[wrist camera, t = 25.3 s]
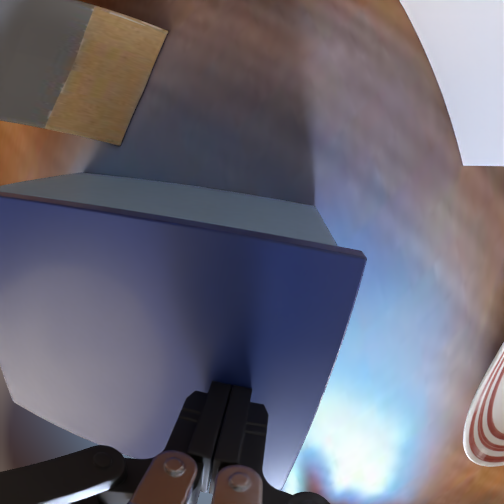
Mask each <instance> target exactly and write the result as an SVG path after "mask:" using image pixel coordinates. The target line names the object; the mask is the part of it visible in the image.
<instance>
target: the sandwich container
mask: <svg viewBox="0 0 504 504" xmlns="http://www.w3.org/2000/svg"><path fill="white" fill-rule="evenodd" d="M167 33H168V31H167V30H164V29H162V28H159V27H157V26H154V25H152V24H149V23H146V22H144V21H141V20H138V19H135V18H133V17H130V16H127V15H124V14H121V13H118V12H115V11H112V10H109V9H106V8H102V7H99V6H96V5H92V4H89V3H85V2H82V1H78V0H0V120H1V121H7V122H13V123H18V124H24V125H29V126H35V127H40V128H45V129H49V130H54V131H59V132H63V133H68V134H72V135H77V136H81V137H85V138H90V139H94V140H98V141H102V142H106V143H110V144H114V145H118V146H121V142H122V139H123V137H124V134H125V132H126V129H127V127H128V125H129V122H130V120H131V117H132V115H133V113H134V110H135V108H136V106H137V104H138V101H139V99H140V97H141V95H142V93H143V91H144V88H145V86H146V83H147V81H148V78H149V76H150V73H151V70H152V68H153V65H154V63H155V61H156V58H157V56H158V53H159V51H160V49H161V46H162V44H163V42H164V39H165V37H166V35H167Z"/></svg>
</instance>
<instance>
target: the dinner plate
mask: <svg viewBox="0 0 504 504" xmlns="http://www.w3.org/2000/svg"><path fill="white" fill-rule="evenodd" d="M463 446H464V450H465V452H466V454H467V456H468V458H469V459H470V460H471V461H473V462H474V463H476V464H478V465H482V466H489V467H490V466H502V465H504V342H503V344H502V346H501V347H500V349H499V351H498V352H497V354H496V356H495V358H494V360H493V361H492V363H491V365H490V366H489V368H488V370H487V372H486V374H485V376H484V378H483V379H482V381H481V383H480V385H479V387H478V390H477V392H476V394H475V396H474V399H473V401H472V403H471V406H470V409H469V412H468V415H467V418H466V422H465V426H464V433H463Z"/></svg>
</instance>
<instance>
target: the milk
mask: <svg viewBox="0 0 504 504" xmlns="http://www.w3.org/2000/svg"><path fill="white" fill-rule="evenodd" d="M400 2H401V4H402V6H403V8H404V10H405V11H406V13H407V15H408V17H409V19H410V21H411V23H412V25H413V27H414V29H415V31H416V33H417V35H418V37H419V39H420V42H421V44H422V46H423V48H424V50H425V53H426V55H427V57H428V60H429V62H430V64H431V67H432V69H433V72H434V74H435V77H436V79H437V82H438V84H439V87H440V90H441V93H442V95H443V98H444V101H445V104H446V107H447V110H448V113H449V116H450V119H451V123H452V126H453V129H454V133H455V136H456V140H457V143H458V147H459V151H460V155H461V159H462V163H463V166H504V0H400Z"/></svg>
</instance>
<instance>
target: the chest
mask: <svg viewBox="0 0 504 504" xmlns="http://www.w3.org/2000/svg"><path fill="white" fill-rule="evenodd" d="M0 192H7V193H14V194H21V195H29V196H36V197H43V198H50V199H57V200H64V201H71V202H78V203H85V204H91V205H98V206H105V207H111V208H118V209H124V210H131V211H137V212H143V213H150V214H156V215H162V216H168V217H174V218H180V219H186V220H192V221H198V222H204V223H210V224H216V225H222V226H228V227H234V228H239V229H245V230H251V231H256V232H262V233H268V234H273V235H279V236H284V237H290V238H295V239H301V240H306V241H312V242H317V243H322V244H328V245H333V246H337V244H336V242H335V241H334V239H333V237H332V235H331V233H330V232H329V230H328V228H327V226H326V225H325V223H324V221H323V219H322V218H321V216H320V214H319V212H318V211H317V209H316V207H315V206H311V205H306V204H300V203H295V202H290V201H284V200H279V199H273V198H267V197H261V196H255V195H249V194H243V193H237V192H231V191H225V190H218V189H211V188H205V187H198V186H191V185H184V184H176V183H169V182H161V181H153V180H145V179H137V178H128V177H119V176H110V175H100V174H90V173H76V174H68V175H61V176H54V177H48V178H41V179H35V180H30V181H24V182H18V183H13V184H8V185H3V186H0Z"/></svg>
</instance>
